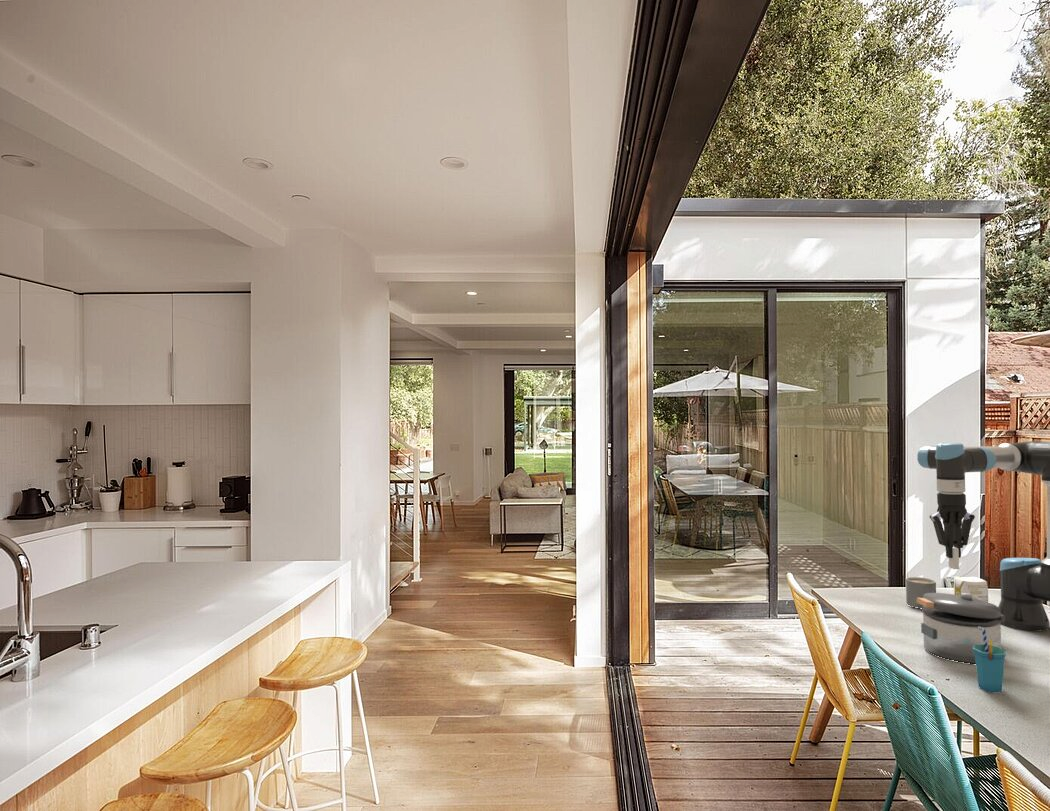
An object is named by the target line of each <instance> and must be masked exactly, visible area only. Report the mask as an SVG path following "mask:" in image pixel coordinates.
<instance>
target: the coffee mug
mask: <svg viewBox="0 0 1050 811" xmlns="http://www.w3.org/2000/svg"><path fill="white" fill-rule="evenodd" d="M905 593H906V594H905V598H906V603H907V604H908V605H910V606H913V607H918V608H922V607H923V605H921V604H919V603H917V598H923V595H924V594H926V593H937V581H936V580H935V579H931V578H926V577H920V576H912V577H911V576H910V577H909V576H908V577H906V578H905ZM907 604H906V605H907Z"/></svg>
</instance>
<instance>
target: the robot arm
mask: <svg viewBox="0 0 1050 811" xmlns="http://www.w3.org/2000/svg"><path fill="white" fill-rule="evenodd" d="M916 457H917V459H916V460H917V462H918V464H919V465H920V467H922V468H924V469H930V470H932V469H933V470H936V491H937V492H938V493H937V494H936V499H937V500H936V502H937V505H938V506H937V510H936V512H935V513H934V514H930V515H929V519H930V520H931V522H932V524H933V527H934V530H935V534H936V537H937V541H938V544H939V545H941V546H944V547H945V557H946V558H948V568H950V569H953V570H960V558H962V550H961V549H963V548H964V546H967V545H968V543H969V539H970V538H969V537H970V533H971V529H972V524H973V521H974V519H975V518H976V515H974V514H972V513H971V514H970V513H969V512H968V510H967V507H966V505H967V498H966V496H967V495H966V494H965V492H966V473H984V472H987V471H991V470H993V469H1000V470H1002V471H1004V472H1007V471H1008V472H1009V471H1010V472H1017V473H1025V474H1031V475H1037V476H1041V477H1040V478H1041V482H1042V483H1043V484H1044V485H1045V486H1046V557H1045V558H1044V559H1040V558H1034V557H1006V558H1003V559H1001V560H1000V566H999V574H1000V575H999V576H1000V578H999V579H1000V580H999V581H1000V601H999V604H998V605H997V606H998V607H999V608H1000V609H1001V613H1000V614H1002V615H1005V622H1001V623H1000V625H1002V626H1007V627H1009V628H1014V629H1019V630H1026V631H1034V632H1035V631H1038V632H1039V630H1041V631H1047V630H1046V629H1048V630H1050V620H1049V617H1048V614H1047V613H1046V610H1045V607H1044V604H1043V601H1046V602H1050V441H1045V440H1044V441H1043V440H1041V441H1040V440H1039V441H1038V440H1037V441H1036V440H1033V441H1032V440H1031V441H1023V442H1014V443H1013V442H1011V443H1002V444H999V445H998V446H995V445H994V446H991V445H990V446H988V445H987V446H965V445H964V444H962V443H957V442H956V443H955V442H945V443H938V444H936V445H935V446H934V445H930V446H929V445H928V446H922V447H921V448H919V450H918V452H917V456H916ZM941 519H942V520H941Z"/></svg>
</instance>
